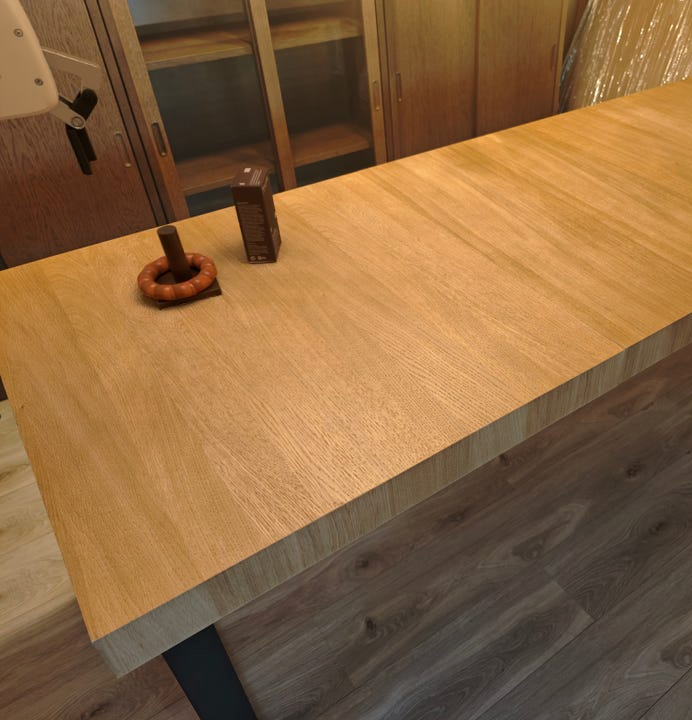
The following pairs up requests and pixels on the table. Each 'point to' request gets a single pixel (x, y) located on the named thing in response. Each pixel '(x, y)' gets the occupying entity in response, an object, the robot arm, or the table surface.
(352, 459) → the table surface
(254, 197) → the box
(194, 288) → the ring
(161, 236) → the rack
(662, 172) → the table surface
